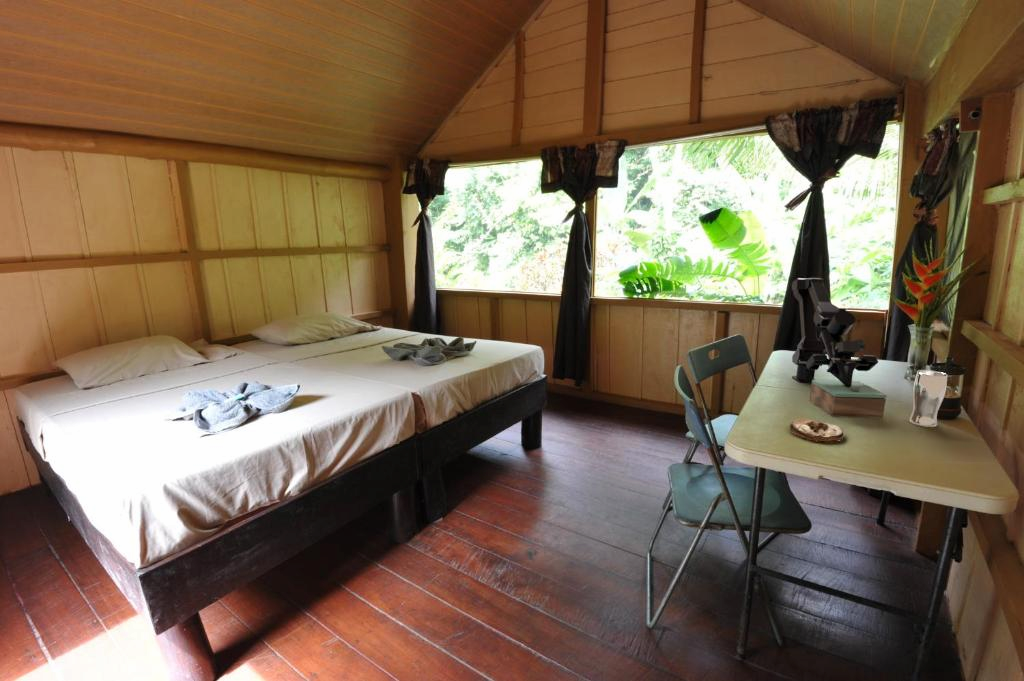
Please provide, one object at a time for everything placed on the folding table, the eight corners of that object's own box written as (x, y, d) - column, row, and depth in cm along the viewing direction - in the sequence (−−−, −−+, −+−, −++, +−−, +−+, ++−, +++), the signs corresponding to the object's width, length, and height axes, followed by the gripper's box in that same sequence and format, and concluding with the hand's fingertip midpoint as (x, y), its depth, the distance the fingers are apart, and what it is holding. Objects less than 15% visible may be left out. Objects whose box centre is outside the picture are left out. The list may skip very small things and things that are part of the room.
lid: (811, 382, 158) (812, 376, 157) (857, 383, 156) (858, 377, 156) (835, 396, 144) (836, 389, 144) (886, 398, 143) (887, 390, 142)
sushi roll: (799, 420, 144) (801, 406, 143) (857, 437, 132) (859, 422, 132) (773, 432, 136) (775, 418, 135) (832, 451, 124) (835, 436, 123)
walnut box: (809, 400, 159) (811, 383, 158) (855, 402, 158) (857, 384, 157) (832, 416, 146) (835, 397, 144) (882, 418, 144) (885, 399, 143)
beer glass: (944, 428, 136) (954, 377, 133) (916, 427, 138) (925, 376, 134) (929, 419, 143) (938, 370, 140) (902, 417, 144) (910, 369, 141)
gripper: (815, 329, 152) (829, 373, 143) (879, 329, 150) (897, 374, 142) (800, 347, 161) (812, 390, 153) (860, 348, 159) (876, 392, 151)
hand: (849, 386), depth 149 cm, fingers closed
